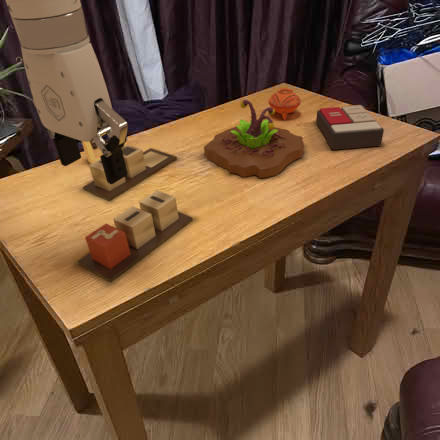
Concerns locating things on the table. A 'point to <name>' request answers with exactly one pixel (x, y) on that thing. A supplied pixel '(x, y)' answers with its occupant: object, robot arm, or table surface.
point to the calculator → (349, 127)
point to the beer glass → (91, 151)
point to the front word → (142, 231)
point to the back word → (128, 171)
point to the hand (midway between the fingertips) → (94, 170)
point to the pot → (284, 101)
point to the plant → (255, 146)
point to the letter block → (108, 245)
